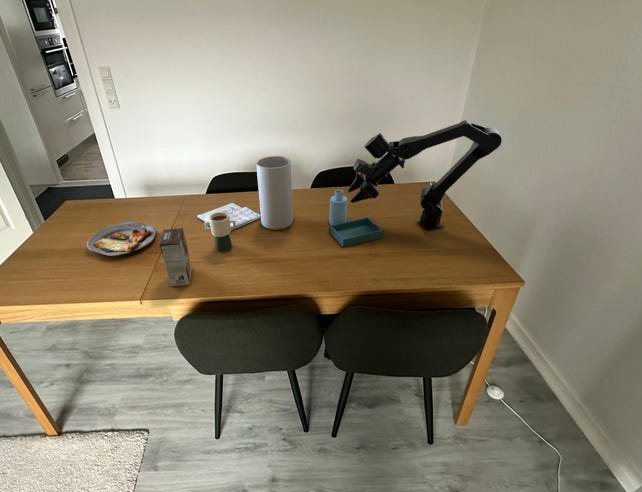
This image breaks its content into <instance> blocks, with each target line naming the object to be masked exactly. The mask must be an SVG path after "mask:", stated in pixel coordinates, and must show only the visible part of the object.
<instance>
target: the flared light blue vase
mask: <svg viewBox="0 0 642 492" xmlns="http://www.w3.org/2000/svg"><path fill="white" fill-rule="evenodd" d="M347 214H348V197H347V196H345V195H344V190H342V189H336V190H334V195H333V196H330V198H329V218H328V219H329V224H330V225H335V224H339V223H344V222H347V216H348V215H347Z"/></svg>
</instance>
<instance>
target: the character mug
mask: <svg viewBox="0 0 642 492" xmlns="http://www.w3.org/2000/svg"><path fill="white" fill-rule="evenodd" d="M230 223H233V226H231V225H230ZM209 224H210V225H209ZM204 228H205V231H211V234H212V236H213V237H214V248H215V250H216V251H218V252H226V251H229V250H230V249H232V247H233V243H232V239H231V236H230V233H231V231H232V230H231V229H233V230H236V229H237V228H236V222H235V220H230V218H229V214H228V213H225V212H217V213H214V214H212V215H210V217H209V221H208V222H205V221H204ZM235 228H236V229H235Z"/></svg>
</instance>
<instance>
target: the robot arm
mask: <svg viewBox="0 0 642 492" xmlns="http://www.w3.org/2000/svg"><path fill="white" fill-rule="evenodd" d="M462 137H465V138H466V139H468V140H470V141H472V143H471V145H470V147H469V149H468V150H467V151H466V152H465V153H464V154H463V156H461V157H460V159H458V161H456V162H455V164H454V165H452V166H451V168H449V170H447V172H446V173H445V174H443V175H442V177H440V179H439V180H437V181H436V182H434V183H432V182H430V181H429V182H428V183H427V184H426V186H425V187H423V188H422V189H421V192H420V195H419V196H420V207H421V208H422V213H421V215H420V219H419V221H417V224H418V225H420V226H421V227H422V228H424V230H426V231H432V230H436V229H439V228H443V225H442V224H441V219H442V214H443V212H444V210H443V203H442V201H443V198H444V196H445V194H446V192H447V191H448V190H450V188H451V187H452V186H453V185H454V184H455V183H456V182H458V181H459V180H460V178H461V177H463V176H464V175H465V174H466V173H467V172H468V171H469V170H470V169H471V168H472V167H473V166H474V165H475V164H476V163H477V162H479V160H481V159H482V158H485V157H487V156H489V155H490V154H492V153H493V152H495V151H496V150H497V149H498V148H499V147H500V146H501V145H502V143H503V142H502V141H503V138H502V136H501V134H500V133H499V131H498V129H496V128H495V127H489V126H488V127H485V126H483V125H481V124H477V123H473V122H471V121H469V120H467V119H466V120H462V121H460V122H458V123H455V124H452V125H450V126H447V127H444V128H441V129H438V130H436V131H433V132H430V133H427V134H424V135H416V136H415V135H413V136H407V137H403V138H401V139H400V140H395V141H389V142H388V140H387V139H386V138H385V137H384V135H383V134H382V133H381V132H379V133H377V134H376V135H375V136H373V137H371V138H370V139H369V140H368V141H367V142H366V143H365V144H364V149H365V150H366V151H367V152H368V153H369V154H370V155H371V156H372V157H373V158H374V159H378V160H377V162H376V161H373V162H371V163H369V162H367V161H365V160H363V159H360V158H357V159H356V160H355V162H354V164H353V166H352V167H353V170H354V171H355V178H354V180H353V182H352V183H351V185H349V187H348V189H347V192H348V193H352V192H354V191H357V190H358V189H359V190H358V191H357V192H356V194H354V195H353V197H351V199H350V203H351V204H354V203H358V202H361V201H365V200H368V199H374V200H375V199H376V198H378V197H379V193H380V192H379V189H378V186H379V184H378V183H379V182H380V181H382V180H383V179H384V180H386V179H387V178H388V176H387V175H389V174H390V173H391V172H392V171H393V170H394V169H395V168H396V167H398V166H399V167H400V168H401V169H405V162H406V160H410V159H412V158H413V157H415V156H418V155H420V153H422V152H423V151H426V150H427V149H430V148H433V147H436V146H438V145H442V144H444V143H448V142H451V141H453V140H457V139H459V138H462Z"/></svg>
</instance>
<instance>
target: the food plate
mask: <svg viewBox="0 0 642 492" xmlns="http://www.w3.org/2000/svg"><path fill="white" fill-rule="evenodd" d="M157 234H158V233H157V230H156V228H154V227H153V226H152V225H150V224H147V223H141V222H136V221H127V222H121V223H117V224H113V225H109V226H106V227H104V228H103V229H100V230H98V231H96V233H94V234H92V235H91V237H90V238H89V239H88V240H87V242H86V247H87V249H88V250H89V251H91V252H94V253H97V254H100V255H104V256H108V257H119V256H123V255H128V254H132V253H134V252H137V251H140V250H141V249H143V248H145V247H147V246H148V245H149V244H152V242H153V241H154V240H155V238H156V235H157Z"/></svg>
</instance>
